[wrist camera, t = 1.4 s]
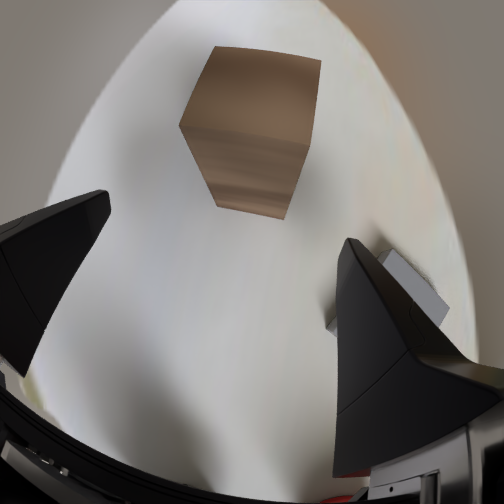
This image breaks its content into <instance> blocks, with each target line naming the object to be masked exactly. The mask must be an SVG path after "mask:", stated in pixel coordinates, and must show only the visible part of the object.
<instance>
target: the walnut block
mask: <svg viewBox="0 0 504 504" xmlns="http://www.w3.org/2000/svg"><path fill="white" fill-rule="evenodd" d="M320 69H321V60H316V59H312V58H307V57H302V56H297V55H292V54H286V53H280V52H273V51H266V50H257V49H248V48H236V47H219V46H215V47H214V49H213V51H212V53H211V55H210V57H209V59H208V61H207V63H206V65H205V67H204V69H203V71H202V73H201V75H200V77H199V79H198V81H197V84H196V86H195V88H194V90H193V92H192V95H191V97H190V99H189V101H188V104H187V106H186V108H185V111H184V113H183V116H182V118H181V120H180V123H179V127H180V129H181V131H182V134H183V136H184V138H185V140H186V142H187V144H188V146H189V148H190V150H191V153H192V155H193V157H194V159H195V161H196V163H197V165H198V167H199V169H200V171H201V174H202V176H203V178H204V180H205V182H206V184H207V186H208V188H209V190H210V192H211V194H212V196H213V199H214V201H215V203H216V205H217V207H222V208H228V209H233V210H238V211H243V212H248V213H253V214H258V215H263V216H268V217H272V218H277V219H282V220H284V218H285V215H286V212H287V209H288V207H289V204H290V201H291V198H292V195H293V193H294V190H295V187H296V184H297V182H298V179H299V176H300V173H301V170H302V167H303V165H304V162H305V159H306V156H307V153H308V150H309V147H310V143H311V137H312V130H313V123H314V116H315V108H316V101H317V93H318V85H319V77H320Z"/></svg>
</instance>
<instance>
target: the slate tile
mask: <svg viewBox="0 0 504 504" xmlns="http://www.w3.org/2000/svg"><path fill="white" fill-rule="evenodd" d="M377 260H378V261H379V262H380V263H381V264H382V265H383V266H384V267H385V268H386V269H387V270H388V271H389V272H390V274H391V275H392V276H393V277H394V278H395V279H396V280H397V281H398V282H399V283H400V285H401V286H402V287H403V288H404V289H405V290H406V291H407V292H408V294H409V295H410V296H411V297H412V298H413V300H414V301H415V302H416V303H417V304H418V305H419V306H420V308H421V309H422V310H423V311H424V312H425V313H426V315H427V316H428V317H429V318H430V319H431V320H432V321H433V322H434V323H435V325H436V326H437V327H438V328H439V326H440V325H441V323H442V321H443V319H444V318H445V316H446V314H447V312H448V310H449V309H450V307H449V306H448V305H447V304H446V303H445V302H444V301H443V300H442V298H441V297H440V296H439V295H438V294H437V293H436V292H435V291H434V290H433V289H432V288H431V287H430V286H429V284H428V283H427V282H426V281H425V280H424V279H423V278H422V277H421V276H420V275H419V274H418V273H417V272H416V271H415V270H414V269H413V268H412V267H411V266H410V265H409V264H408V263H407V262H406V261H405V260H404V259H403V258H402V257H401V256H400V255H399V254H398V253H397V252H396V251H395V250H394V249H390V250H387V251H384V252H382V253H381V254H380V256H379V257H378V259H377ZM326 329H327V330H328V331H329V332H330V333H332V334H333V335H334V336H335V337H337V315H336V317H335V318H334V319H333V320H332V322H331V323H330V324H329V325H328V327H327V328H326Z"/></svg>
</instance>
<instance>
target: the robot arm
mask: <svg viewBox="0 0 504 504" xmlns="http://www.w3.org/2000/svg"><path fill="white" fill-rule="evenodd" d="M110 214H111V205H110V197H109V193H108V191H106V190H96V191H93V192H89V193H86V194H83V195H80V196H77V197H74V198H71V199H68V200H65V201H62V202H59V203H57V204H54V205H51V206H48V207H46V208H43V209H40V210H38V211H35V212H33V213H30V214H28V215H25V216H22V217H20V218H18V219H15V220H13V221H10V222H8V223H5V224H3V225H0V367H1V365H2V363H3V362H4V363H5V364H7V365H8V366H9V367H10V368H11V369H13V370H14V371H15V372H16V373H18V374H19V375H20V376H22V377H23V378H25V376H26V374H27V371H28V369H29V366H30V364H31V361H32V359H33V356H34V354H35V352H36V349H37V347H38V345H39V342H40V340H41V338H42V336H43V334H44V332H45V331H44V330H45V329H46V327H47V325H48V323H49V321H50V319H51V317H52V315H53V313H54V311H55V309H56V307H57V305H58V303H59V301H60V300H61V298H62V296H63V294H64V292H65V291H66V289H67V287H68V285H69V284H70V282H71V280H72V278H73V277H74V275H75V273H76V272H77V270H78V268H79V267H80V265H81V263H82V262H83V260H84V259H85V257H86V255H87V254H88V252H89V251H90V249H91V248H92V246H93V244H94V243H95V241H96V239H97V237H98V236H99V234H100V232H101V230H102V228H103V227H104V225H105V223H106V221H107V219H108V218H109V216H110ZM336 314H337V344H338V394H337V419H336V437H335V451H334V463H333V474H332V477H333V478H348V477H365V476H370V484H369V487H365V488H362V489H361V490H359V491H358V492H357V493H356V494H355V495H354V496H353V497H352V498H351V499H350V500H349V501H348V502H336V503H292V502H276V501H266V500H257V499H249V498H242V497H236V496H230V495H225V494H220V493H215V492H210V491H206V490H202V489H198V488H194V487H190V486H188V485H186V484H179V483H176V482H173V481H170V480H167V479H164V478H161V477H158V476H155V475H152V474H149V473H147V472H144V471H141V470H139V469H136V468H134V467H131V466H129V465H127V464H124V463H122V462H120V461H117V460H115V459H113V458H111V457H109V456H107V455H105V454H103V453H101V452H99V451H97V450H95V449H93V448H91V447H89V446H87V445H85V444H84V443H82V442H80V441H78V440H76V439H75V438H73V437H71V436H70V435H68V434H66V433H65V432H63V431H62V430H60V429H58V428H57V427H55V426H54V425H52V424H51V423H49V422H48V421H46V420H45V419H43V418H42V417H40V416H39V415H38V414H36V413H35V412H34V411H32V410H31V409H29V408H28V407H27V406H26V405H24V404H23V403H22V402H20V401H19V400H18V399H16V398H15V397H14V396H13V395H12V394H11V393H10V392H8V391H7V390H6V384H5V376H4V374H3V373H2V372H1V371H0V504H504V369H500V368H495V367H491V366H486V365H481V364H477V363H475V362H472V361H470V360H469V359H467V358H466V357H465V356H464V355H463V354H462V353H461V352H460V351H459V350H458V349H457V348H456V347H455V345H454V344H453V343H452V342H451V341H450V340H449V339H448V338H447V337H446V335H445V334H444V333H443V332H442V331H441V330H440V329H439V328H438V327H437V326H436V325H435V323H434V322H433V321H432V320H431V319H430V318H429V317H428V316H427V315H426V313H425V312H424V311H423V310H422V309H421V308H420V306H419V305H418V304H417V303H416V302H415V301H414V300H413V298H412V297H411V296H410V295H409V294H408V292H407V291H406V290H405V289H404V288H403V287H402V286H401V285H400V283H399V282H398V281H397V280H396V279H395V278H394V277H393V276H392V275H391V274H390V272H389V271H388V270H387V269H386V268H385V267H384V266H383V265H382V264H381V263H380V262H379V261H378V260H377V259H376V257H375V256H374V255H373V254H372V253H371V252H370V251H369V250H368V249H367V248H366V247H365V246H364V245H363V244H362V243H361V242H360V241H359V240H357V239H353V238H347V239H346V240H345V243H344V245H343V248H342V250H341V252H340V255H339V258H338V267H337V287H336ZM26 448H27V449H26ZM33 452H34V453H33ZM35 453H36V454H35ZM42 460H44V461H46V462H48V463H49V464H47V463H45V462H43V461H42ZM60 471H62V472H63V473H62V474H61V473H60Z"/></svg>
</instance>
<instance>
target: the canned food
mask: <svg viewBox="0 0 504 504" xmlns="http://www.w3.org/2000/svg"><path fill="white" fill-rule="evenodd" d="M352 497H353V496H340V497H335V498H331V499H328V500H325V501H322V502H320V503H336V502H348V501H349V500H350V499H351V498H352Z"/></svg>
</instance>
